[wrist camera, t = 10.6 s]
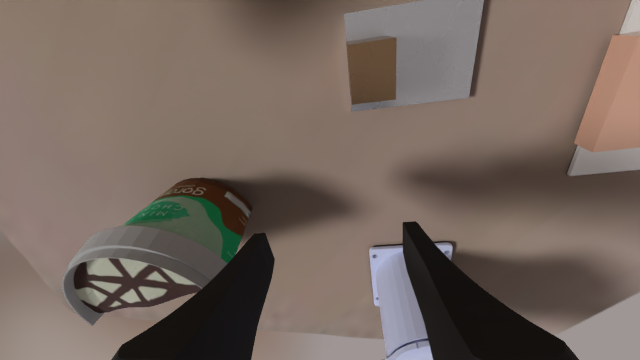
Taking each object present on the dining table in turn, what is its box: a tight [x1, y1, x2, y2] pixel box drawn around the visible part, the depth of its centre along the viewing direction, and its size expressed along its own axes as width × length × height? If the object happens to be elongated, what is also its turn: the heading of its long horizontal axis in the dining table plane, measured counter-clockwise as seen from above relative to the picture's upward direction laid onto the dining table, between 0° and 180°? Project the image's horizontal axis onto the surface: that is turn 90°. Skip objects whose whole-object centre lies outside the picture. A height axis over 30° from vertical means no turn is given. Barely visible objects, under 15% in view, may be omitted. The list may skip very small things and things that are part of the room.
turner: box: [344, 0, 484, 111], centre depth 15 cm, size 8×6×5 cm
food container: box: [62, 178, 252, 326], centre depth 20 cm, size 12×6×10 cm, turn 112°
